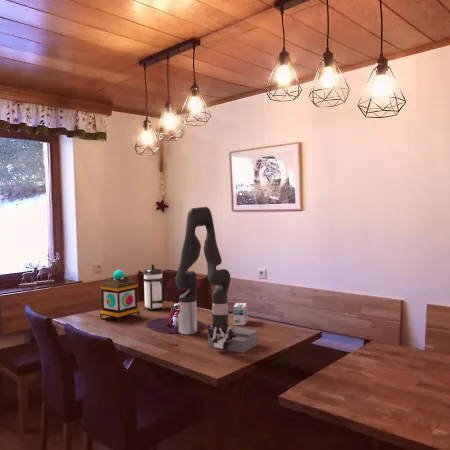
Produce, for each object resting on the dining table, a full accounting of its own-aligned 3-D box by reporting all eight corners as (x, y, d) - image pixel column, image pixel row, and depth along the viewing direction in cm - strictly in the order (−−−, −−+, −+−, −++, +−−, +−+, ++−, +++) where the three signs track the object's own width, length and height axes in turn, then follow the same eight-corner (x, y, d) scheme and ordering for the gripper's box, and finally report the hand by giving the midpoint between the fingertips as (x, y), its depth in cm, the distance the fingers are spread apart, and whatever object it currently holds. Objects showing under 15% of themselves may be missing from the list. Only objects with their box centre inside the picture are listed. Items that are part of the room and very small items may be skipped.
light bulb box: (244, 325, 251) (244, 306, 250) (233, 325, 252) (232, 306, 251) (247, 320, 261) (247, 302, 261) (236, 320, 262) (236, 302, 262)
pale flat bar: (213, 346, 206) (213, 342, 206) (229, 338, 218) (229, 335, 218) (222, 348, 204) (222, 344, 203) (238, 340, 215) (238, 336, 215)
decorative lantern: (96, 319, 272) (95, 270, 270) (121, 312, 288) (119, 266, 287) (118, 323, 260) (117, 273, 259) (143, 316, 277) (141, 268, 275)
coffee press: (138, 311, 289) (137, 266, 288) (147, 306, 305) (145, 262, 303) (164, 312, 286) (163, 266, 285) (171, 306, 302) (170, 262, 301)
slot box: (208, 346, 215) (207, 332, 215) (223, 338, 227) (223, 325, 227) (243, 353, 204) (242, 338, 204) (257, 344, 216) (257, 330, 216)
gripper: (202, 312, 207) (203, 347, 207) (228, 315, 199) (229, 353, 200) (211, 308, 213) (212, 343, 214) (237, 312, 205) (238, 348, 206)
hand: (220, 347), depth 207 cm, fingers closed on pale flat bar, 5 cm apart
